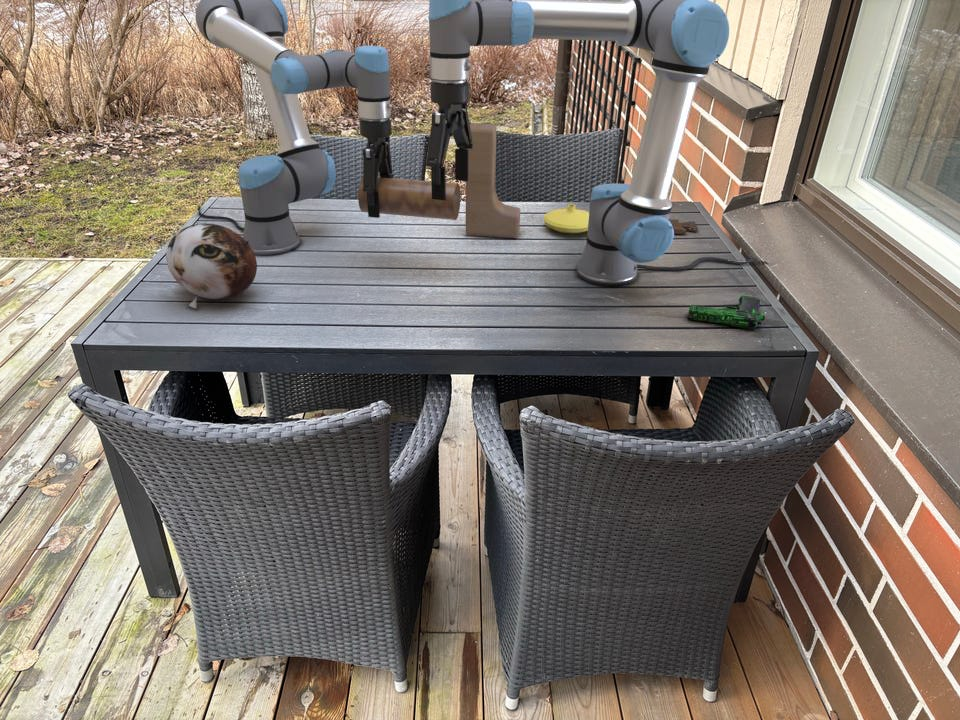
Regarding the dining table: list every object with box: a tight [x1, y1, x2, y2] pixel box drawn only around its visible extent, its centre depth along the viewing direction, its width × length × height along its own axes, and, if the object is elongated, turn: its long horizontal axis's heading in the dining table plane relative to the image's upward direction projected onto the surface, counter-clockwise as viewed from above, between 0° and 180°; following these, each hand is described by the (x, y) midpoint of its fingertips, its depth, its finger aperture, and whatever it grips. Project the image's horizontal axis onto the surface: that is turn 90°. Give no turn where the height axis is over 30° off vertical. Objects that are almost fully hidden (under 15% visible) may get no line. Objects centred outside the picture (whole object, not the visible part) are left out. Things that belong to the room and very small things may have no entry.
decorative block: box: [465, 122, 521, 239], centre depth 199 cm, size 8×15×30 cm, turn 82°
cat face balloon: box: [165, 222, 258, 309], centre depth 165 cm, size 22×18×20 cm
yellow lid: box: [543, 203, 589, 234], centre depth 209 cm, size 16×16×7 cm
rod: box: [357, 176, 462, 221], centre depth 176 cm, size 24×9×9 cm, turn 79°
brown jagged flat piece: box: [668, 218, 698, 235], centre depth 212 cm, size 26×2×10 cm
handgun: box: [687, 295, 766, 331], centre depth 164 cm, size 16×3×15 cm
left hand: (379, 210), depth 180 cm, fingers closed on rod, 9 cm apart
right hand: (450, 189), depth 147 cm, fingers open, 13 cm apart
